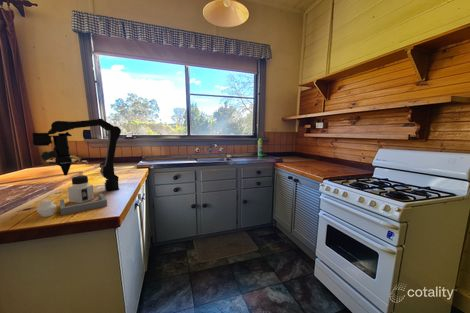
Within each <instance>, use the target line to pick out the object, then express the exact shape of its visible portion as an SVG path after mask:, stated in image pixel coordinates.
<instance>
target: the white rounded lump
mask: <svg viewBox="0 0 470 313" xmlns="http://www.w3.org/2000/svg"><path fill="white" fill-rule="evenodd" d="M56 208H57V205H56V204H55V203H54V202H53V201H52V200H50V199H45V200H42V201H41V202H40V204H39V206H37V207H36V211H37V214H39V215H40V216H41V217H43V218H46V217H47V218H48V217H51V216H53V214H54V213H55V211H56Z"/></svg>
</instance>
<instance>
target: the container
mask: <svg viewBox="0 0 470 313" xmlns="http://www.w3.org/2000/svg"><path fill="white" fill-rule="evenodd" d="M94 192H95V191H94V185H93V184H90V183H89V177H88V176H87V175H86V174H85V175H74V176H72V177H71V185H70V186H68V187H67V194H68V202H72V203H76V204H83V203H86V202H88V201H91V200H94V199H95V196H94V195H95V193H94Z"/></svg>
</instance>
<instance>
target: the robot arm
mask: <svg viewBox="0 0 470 313" xmlns="http://www.w3.org/2000/svg"><path fill="white" fill-rule="evenodd" d="M96 126H97V127H98V126H99V127H101V128H102V129H104V130H105V131H107V138H108V142H107V150H106V154H105V162H104V165H100V170H99V173H100V174H101V177H103V178H104V179H105V182H104V190H105V191H107V192H111V191H116V190H117V191H119V190H120V188H119V176H118V175H116V174H115V166H114V161H115V155H116V148H117V144H118V142H117V141H118V140H119V138H120V136H121V134H122V129H121V128H120V127H119V126H115V125H114V124H112V123H109V122H107V121H106V120H104V119H103V118H96V119H89V120H85V119H84V120H76V121H71V120H70V121H69V120H68V121H67V120H55V121H53V122H52V123H51V126H50V127H51V128H50V129H49V130H48V131H47V132H31V134H32V144H33V147H49V146H50V144H53V149H52V150H49V151H47V150H46V151H43V152H42V153H41V154H39V156H40V158H41V160H42V161H47V160H49V159H52V158H54V161H55V165H57V166H59V167H60V168H61V170H62V173H63V175H64V176H68V174H69V171H70V169H71V166H72V163H73V159H72V156H71V154H70V147H69V139H68V137H72V134H71V133H69V131H71V130H74V129H80V128H89V127H96ZM57 133H58V134H57ZM55 134H57V135H55ZM52 141H53V142H52Z"/></svg>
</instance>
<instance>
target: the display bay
mask: <svg viewBox="0 0 470 313" xmlns="http://www.w3.org/2000/svg"><path fill="white" fill-rule="evenodd" d="M107 206H108V200H107V198H106V197H105V195H104V194H103V193H102V192H100V193H98V200H93V201H90V202H88V201H87V202H82V203H77V204H73V205H72V204H71V205H67V206H65V199H60V200H59V207H60V208H59V209H60V210H59V211H60V216H64V215H69V214H74V213H79V212H84V211H85V212H86V211H89V210H93V209H98V208H103V207H107Z"/></svg>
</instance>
